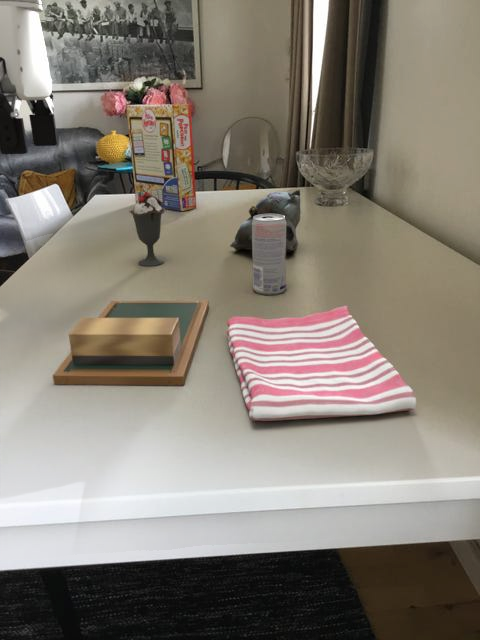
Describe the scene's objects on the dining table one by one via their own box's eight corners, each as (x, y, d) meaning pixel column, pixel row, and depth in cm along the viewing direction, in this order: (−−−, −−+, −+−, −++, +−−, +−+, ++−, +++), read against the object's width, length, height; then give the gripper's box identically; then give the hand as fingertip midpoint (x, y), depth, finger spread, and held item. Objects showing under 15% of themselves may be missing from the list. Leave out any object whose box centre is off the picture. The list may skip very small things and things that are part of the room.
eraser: (73, 365, 66) (68, 334, 65) (86, 346, 71) (82, 317, 70) (174, 365, 66) (171, 334, 64) (181, 347, 70) (178, 317, 69)
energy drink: (281, 283, 95) (281, 212, 91) (289, 294, 90) (290, 219, 86) (250, 286, 94) (248, 214, 90) (256, 296, 90) (255, 221, 85)
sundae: (139, 269, 105) (131, 187, 99) (130, 260, 110) (122, 182, 105) (173, 264, 107) (167, 184, 101) (163, 255, 113) (156, 179, 107)
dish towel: (347, 326, 78) (348, 302, 77) (418, 415, 56) (422, 385, 55) (224, 335, 76) (223, 311, 75) (250, 432, 55) (249, 401, 53)
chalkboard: (54, 384, 65) (52, 375, 64) (112, 308, 87) (111, 300, 86) (183, 385, 64) (183, 376, 63) (209, 307, 86) (208, 300, 85)
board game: (197, 208, 156) (191, 103, 145) (180, 212, 151) (173, 104, 141) (151, 200, 169) (142, 103, 158) (134, 203, 165) (124, 104, 154)
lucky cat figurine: (221, 247, 117) (237, 183, 117) (271, 263, 122) (286, 201, 122) (252, 242, 103) (269, 169, 104) (307, 260, 108) (323, 190, 109)
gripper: (9, 7, 74) (30, 143, 81) (-66, -14, 58) (-32, 158, 65) (64, 5, 74) (82, 142, 80) (4, -17, 58) (32, 157, 64)
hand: (31, 149), depth 72 cm, fingers open, 9 cm apart
